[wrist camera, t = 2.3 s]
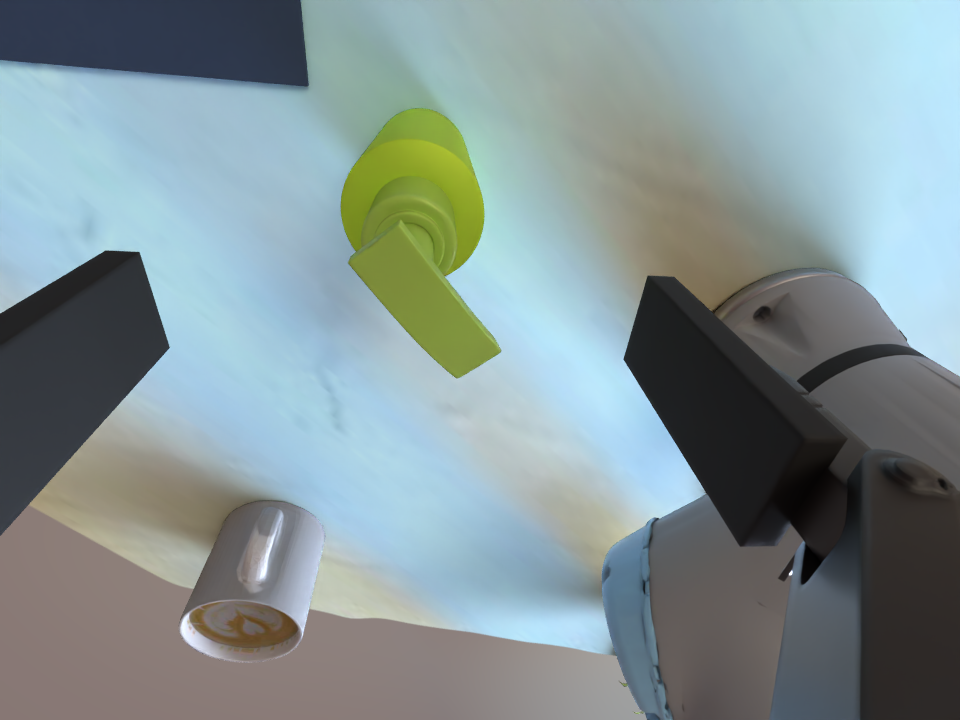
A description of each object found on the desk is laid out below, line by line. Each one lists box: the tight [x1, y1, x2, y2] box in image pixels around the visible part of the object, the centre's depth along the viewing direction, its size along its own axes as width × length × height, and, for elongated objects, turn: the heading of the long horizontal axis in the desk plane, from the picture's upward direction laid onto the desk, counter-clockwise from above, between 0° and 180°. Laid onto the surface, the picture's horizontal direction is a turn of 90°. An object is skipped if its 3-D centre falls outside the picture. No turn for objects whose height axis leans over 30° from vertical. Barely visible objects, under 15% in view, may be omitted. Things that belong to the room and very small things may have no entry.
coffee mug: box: [179, 501, 325, 662], centre depth 44 cm, size 13×10×10 cm
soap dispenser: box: [341, 108, 501, 378], centre depth 22 cm, size 6×7×20 cm
